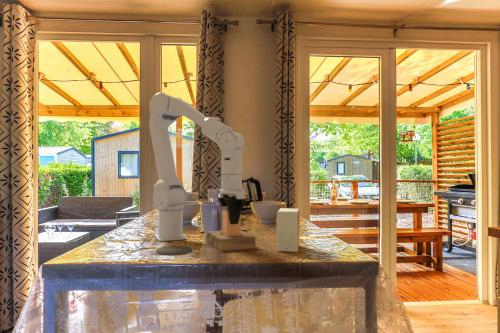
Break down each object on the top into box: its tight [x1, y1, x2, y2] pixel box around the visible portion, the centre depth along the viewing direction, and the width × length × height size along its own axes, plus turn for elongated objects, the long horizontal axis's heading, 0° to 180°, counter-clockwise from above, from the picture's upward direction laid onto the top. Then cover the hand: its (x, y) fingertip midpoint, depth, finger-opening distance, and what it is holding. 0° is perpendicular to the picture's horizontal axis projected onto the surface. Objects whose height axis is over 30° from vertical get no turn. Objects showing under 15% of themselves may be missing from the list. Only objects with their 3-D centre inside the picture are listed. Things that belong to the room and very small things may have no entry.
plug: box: [221, 206, 242, 236], centre depth 94 cm, size 4×4×9 cm
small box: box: [276, 207, 300, 253], centre depth 91 cm, size 8×6×10 cm
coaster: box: [155, 244, 192, 256], centre depth 87 cm, size 9×9×1 cm
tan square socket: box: [206, 230, 256, 252], centre depth 95 cm, size 12×10×3 cm
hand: (231, 222), depth 94 cm, fingers closed on plug, 4 cm apart
